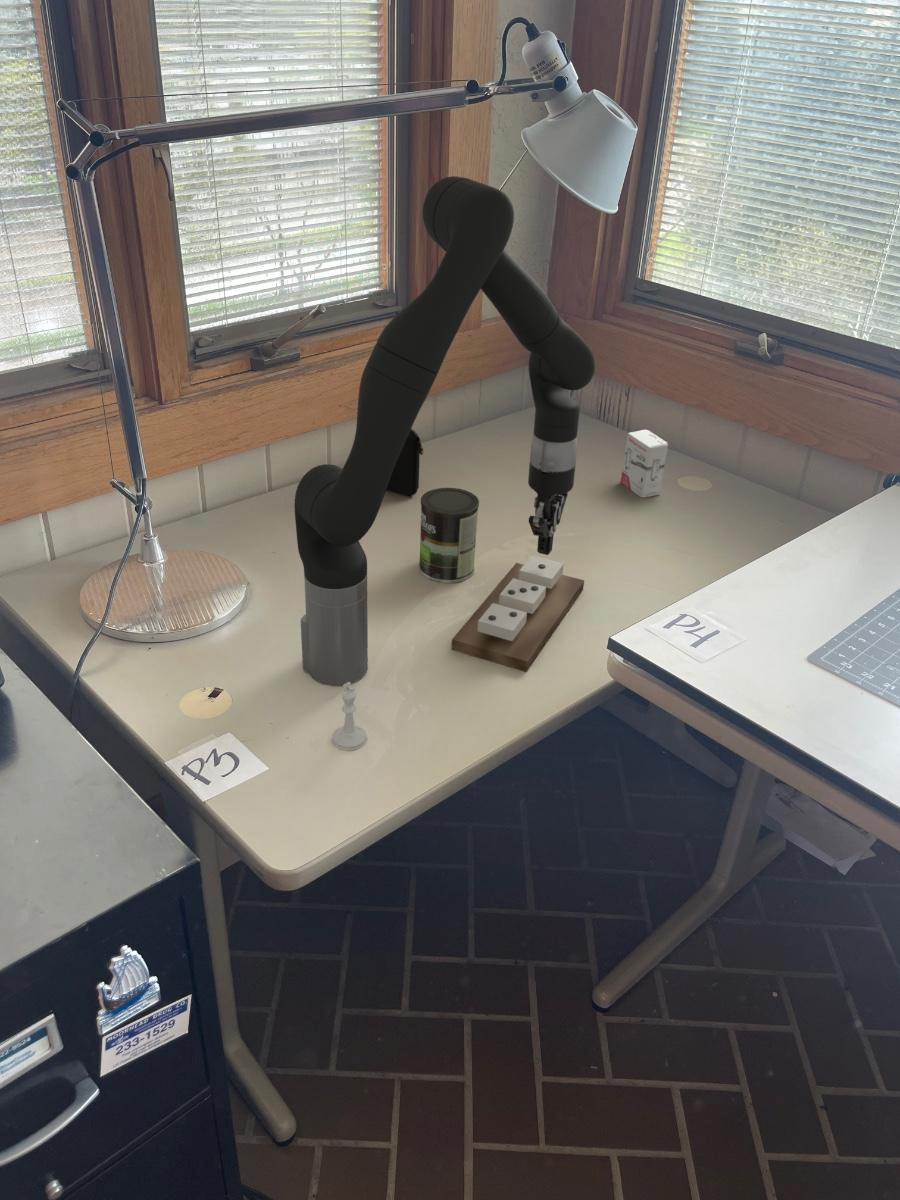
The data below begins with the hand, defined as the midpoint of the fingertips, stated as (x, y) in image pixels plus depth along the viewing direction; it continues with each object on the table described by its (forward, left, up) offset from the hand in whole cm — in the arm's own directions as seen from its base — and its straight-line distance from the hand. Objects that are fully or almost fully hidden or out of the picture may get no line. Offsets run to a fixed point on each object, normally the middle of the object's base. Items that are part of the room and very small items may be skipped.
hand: (544, 552), depth 175 cm
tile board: (0, -9, -8) cm, 12 cm away
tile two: (0, -18, -5) cm, 19 cm away
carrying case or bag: (-40, +24, -9) cm, 47 cm away
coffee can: (-18, 0, -9) cm, 20 cm away
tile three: (0, -9, -5) cm, 10 cm away
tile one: (0, 0, -5) cm, 5 cm away
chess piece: (-10, -50, -9) cm, 52 cm away
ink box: (+4, +51, -9) cm, 52 cm away
